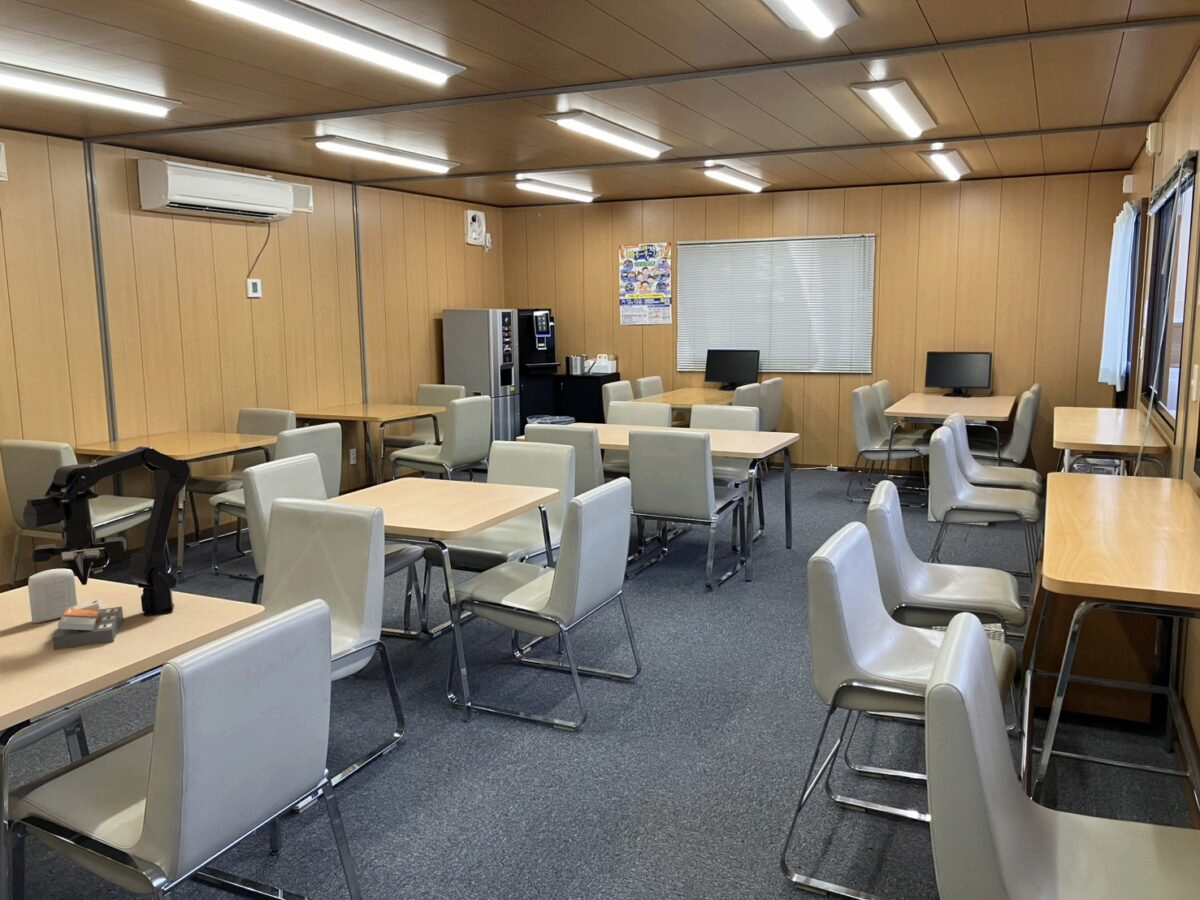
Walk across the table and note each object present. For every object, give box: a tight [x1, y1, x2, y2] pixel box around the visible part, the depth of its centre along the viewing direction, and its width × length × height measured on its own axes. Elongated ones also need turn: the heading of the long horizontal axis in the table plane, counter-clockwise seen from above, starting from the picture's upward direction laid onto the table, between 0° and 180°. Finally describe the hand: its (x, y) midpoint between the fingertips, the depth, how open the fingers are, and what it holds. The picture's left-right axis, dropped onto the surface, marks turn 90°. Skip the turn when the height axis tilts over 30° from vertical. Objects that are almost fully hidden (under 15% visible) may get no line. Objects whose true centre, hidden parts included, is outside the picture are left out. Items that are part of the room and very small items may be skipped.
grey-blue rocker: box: [57, 617, 96, 630], centre depth 207 cm, size 7×5×2 cm, turn 112°
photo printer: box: [27, 568, 79, 624], centre depth 225 cm, size 10×4×12 cm, turn 135°
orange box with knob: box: [63, 609, 100, 622], centre depth 213 cm, size 7×5×2 cm, turn 112°
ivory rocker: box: [69, 597, 103, 610], centre depth 218 cm, size 7×5×2 cm, turn 111°
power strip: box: [51, 606, 124, 651], centre depth 214 cm, size 12×18×4 cm, turn 21°
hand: (84, 584), depth 212 cm, fingers closed
